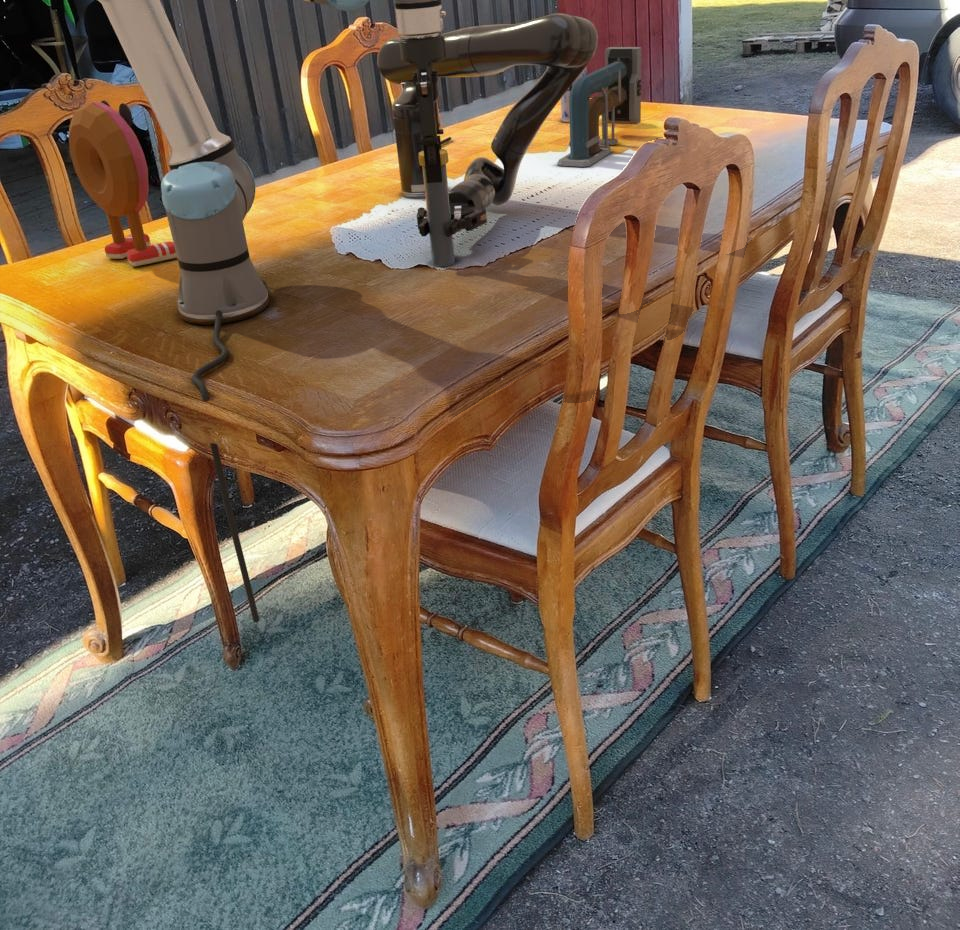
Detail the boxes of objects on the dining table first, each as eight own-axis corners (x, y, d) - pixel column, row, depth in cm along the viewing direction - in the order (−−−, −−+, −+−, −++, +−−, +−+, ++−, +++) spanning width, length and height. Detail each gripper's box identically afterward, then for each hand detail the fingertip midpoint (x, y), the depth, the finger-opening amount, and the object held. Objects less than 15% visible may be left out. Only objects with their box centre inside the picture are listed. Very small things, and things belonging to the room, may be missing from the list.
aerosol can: (559, 122, 275) (557, 47, 265) (562, 117, 282) (559, 42, 272) (587, 121, 274) (585, 45, 263) (589, 115, 280) (587, 41, 270)
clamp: (588, 167, 230) (586, 71, 219) (554, 165, 234) (551, 71, 223) (640, 133, 256) (641, 47, 245) (609, 132, 260) (609, 47, 249)
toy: (191, 258, 192) (154, 99, 176) (145, 273, 186) (103, 110, 170) (136, 241, 205) (97, 91, 189) (92, 254, 199) (48, 101, 183)
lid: (425, 159, 172) (424, 148, 171) (452, 159, 171) (451, 148, 170) (414, 166, 168) (413, 155, 167) (442, 166, 166) (441, 155, 166)
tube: (458, 260, 179) (449, 153, 169) (447, 267, 176) (436, 159, 166) (440, 258, 181) (429, 152, 171) (428, 265, 178) (416, 157, 168)
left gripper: (442, 40, 151) (455, 189, 163) (445, 26, 166) (457, 163, 178) (394, 44, 151) (411, 193, 163) (402, 30, 167) (417, 167, 179)
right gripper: (428, 184, 187) (395, 209, 173) (498, 184, 183) (471, 211, 169) (432, 222, 191) (400, 250, 177) (501, 223, 187) (474, 252, 173)
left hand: (435, 177), depth 171 cm, fingers closed on lid, 5 cm apart
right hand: (435, 231), depth 173 cm, fingers closed on tube, 4 cm apart
